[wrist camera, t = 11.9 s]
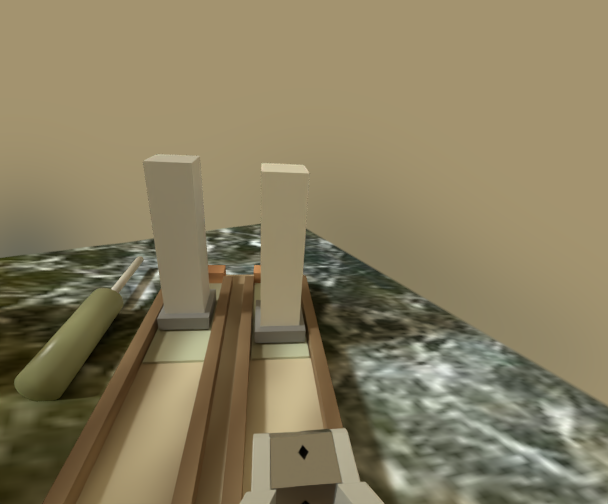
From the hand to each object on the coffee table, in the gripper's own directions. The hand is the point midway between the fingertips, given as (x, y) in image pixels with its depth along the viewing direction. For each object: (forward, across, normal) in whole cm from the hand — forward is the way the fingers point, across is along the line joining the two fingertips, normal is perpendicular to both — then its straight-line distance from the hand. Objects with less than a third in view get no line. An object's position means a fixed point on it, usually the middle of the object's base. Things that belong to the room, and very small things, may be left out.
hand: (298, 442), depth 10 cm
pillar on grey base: (+15, +7, +6) cm, 18 cm away
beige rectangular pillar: (+13, 0, +6) cm, 15 cm away
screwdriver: (+16, +14, +8) cm, 23 cm away
